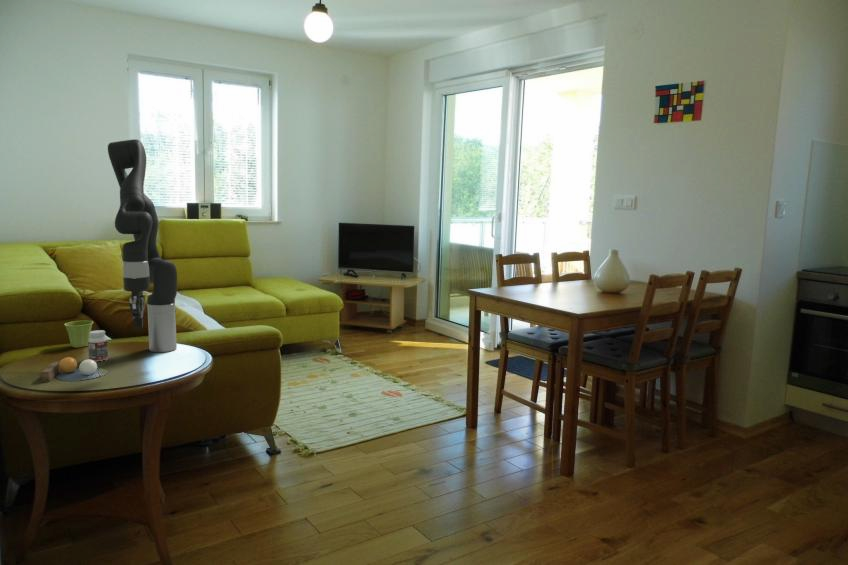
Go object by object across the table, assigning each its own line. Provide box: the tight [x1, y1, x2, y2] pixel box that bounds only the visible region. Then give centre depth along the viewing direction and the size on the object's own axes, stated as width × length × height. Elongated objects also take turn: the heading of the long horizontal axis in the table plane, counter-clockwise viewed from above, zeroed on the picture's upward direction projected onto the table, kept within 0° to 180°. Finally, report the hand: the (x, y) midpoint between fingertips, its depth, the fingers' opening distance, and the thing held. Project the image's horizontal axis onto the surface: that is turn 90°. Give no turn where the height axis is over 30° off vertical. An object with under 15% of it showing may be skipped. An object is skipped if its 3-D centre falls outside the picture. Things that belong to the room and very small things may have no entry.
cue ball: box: [78, 358, 98, 375], centre depth 193 cm, size 5×5×5 cm
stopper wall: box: [40, 360, 62, 383], centre depth 192 cm, size 12×2×3 cm, turn 15°
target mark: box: [55, 367, 108, 382], centre depth 194 cm, size 14×14×1 cm
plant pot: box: [64, 320, 94, 349], centre depth 228 cm, size 9×9×9 cm
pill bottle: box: [88, 329, 109, 363], centre depth 210 cm, size 6×6×10 cm
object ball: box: [59, 356, 78, 373], centre depth 195 cm, size 5×5×5 cm
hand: (138, 329), depth 197 cm, fingers closed
